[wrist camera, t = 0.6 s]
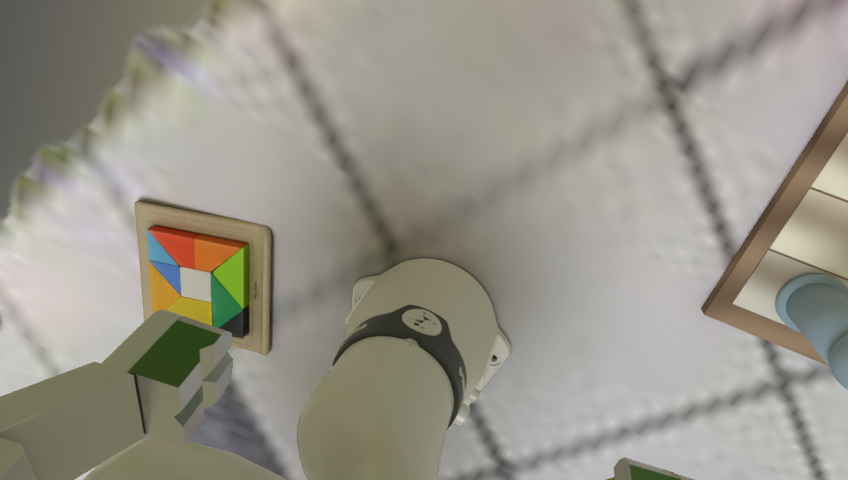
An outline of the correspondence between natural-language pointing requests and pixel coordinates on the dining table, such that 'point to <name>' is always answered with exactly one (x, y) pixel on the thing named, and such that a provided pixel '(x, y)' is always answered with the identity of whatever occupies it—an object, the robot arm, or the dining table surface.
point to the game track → (792, 238)
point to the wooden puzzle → (207, 271)
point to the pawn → (819, 317)
